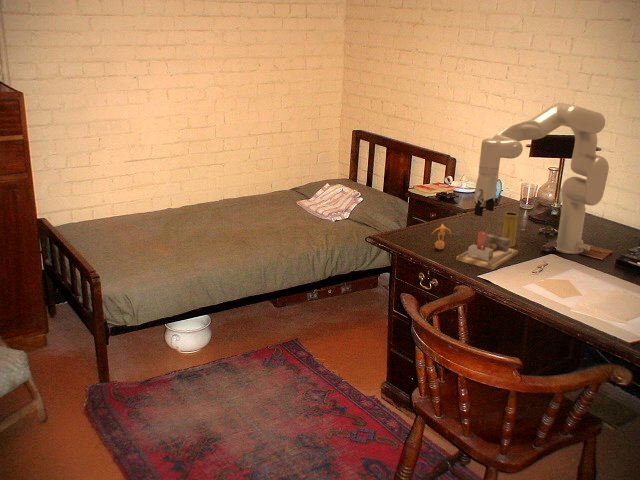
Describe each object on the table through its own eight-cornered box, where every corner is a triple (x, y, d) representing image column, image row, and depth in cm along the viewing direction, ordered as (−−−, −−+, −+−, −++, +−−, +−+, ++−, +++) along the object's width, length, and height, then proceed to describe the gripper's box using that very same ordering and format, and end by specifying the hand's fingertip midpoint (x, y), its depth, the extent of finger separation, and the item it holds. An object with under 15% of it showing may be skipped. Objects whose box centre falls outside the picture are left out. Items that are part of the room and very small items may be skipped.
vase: (515, 247, 284) (519, 216, 279) (501, 246, 285) (504, 215, 281) (514, 243, 290) (518, 212, 285) (500, 241, 291) (503, 211, 286)
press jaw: (492, 258, 266) (495, 234, 263) (488, 261, 263) (490, 236, 260) (472, 253, 271) (474, 229, 268) (467, 255, 268) (470, 231, 265)
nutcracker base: (517, 253, 277) (519, 239, 275) (492, 269, 259) (494, 254, 257) (482, 245, 287) (484, 231, 284) (456, 260, 269) (457, 245, 267)
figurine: (447, 247, 283) (450, 221, 279) (451, 252, 277) (453, 225, 273) (428, 247, 283) (430, 221, 279) (431, 252, 277) (433, 225, 273)
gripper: (489, 165, 264) (485, 206, 270) (469, 172, 251) (465, 215, 257) (507, 168, 259) (502, 210, 265) (487, 176, 247) (482, 219, 252)
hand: (483, 212), depth 261 cm, fingers open, 9 cm apart
